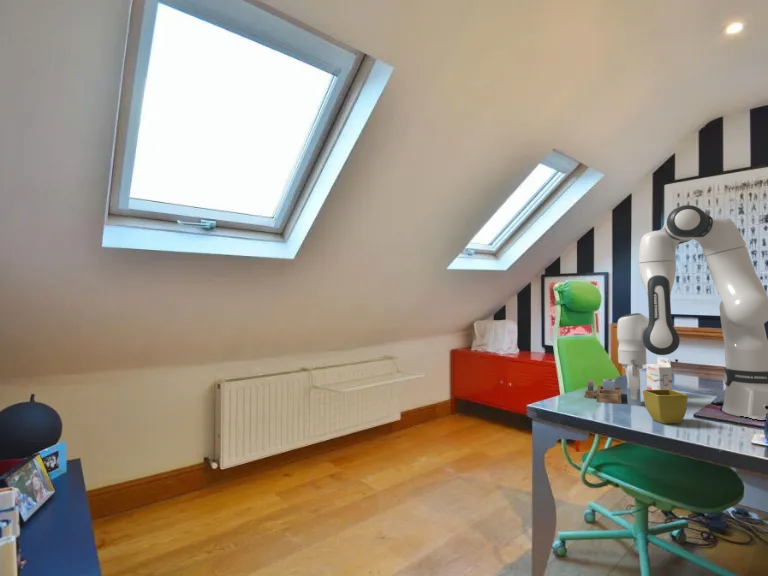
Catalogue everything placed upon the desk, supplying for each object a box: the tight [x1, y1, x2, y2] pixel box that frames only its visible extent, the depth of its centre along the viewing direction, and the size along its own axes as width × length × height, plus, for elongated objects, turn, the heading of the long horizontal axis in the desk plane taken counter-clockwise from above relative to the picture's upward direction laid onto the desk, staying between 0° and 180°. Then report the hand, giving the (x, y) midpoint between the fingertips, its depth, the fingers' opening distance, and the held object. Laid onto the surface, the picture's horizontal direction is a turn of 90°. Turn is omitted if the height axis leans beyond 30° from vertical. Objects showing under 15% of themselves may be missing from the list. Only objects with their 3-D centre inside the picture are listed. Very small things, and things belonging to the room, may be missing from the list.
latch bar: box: [587, 378, 595, 392], centre depth 171 cm, size 2×6×6 cm, turn 151°
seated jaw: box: [602, 378, 616, 390], centre depth 166 cm, size 4×4×6 cm
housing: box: [584, 384, 622, 405], centre depth 164 cm, size 12×18×3 cm
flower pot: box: [642, 389, 689, 425], centre depth 130 cm, size 9×9×9 cm
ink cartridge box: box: [645, 355, 673, 390], centre depth 164 cm, size 9×5×15 cm, turn 179°
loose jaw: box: [626, 385, 642, 407], centre depth 152 cm, size 4×4×6 cm
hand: (633, 397), depth 152 cm, fingers closed on loose jaw, 4 cm apart
